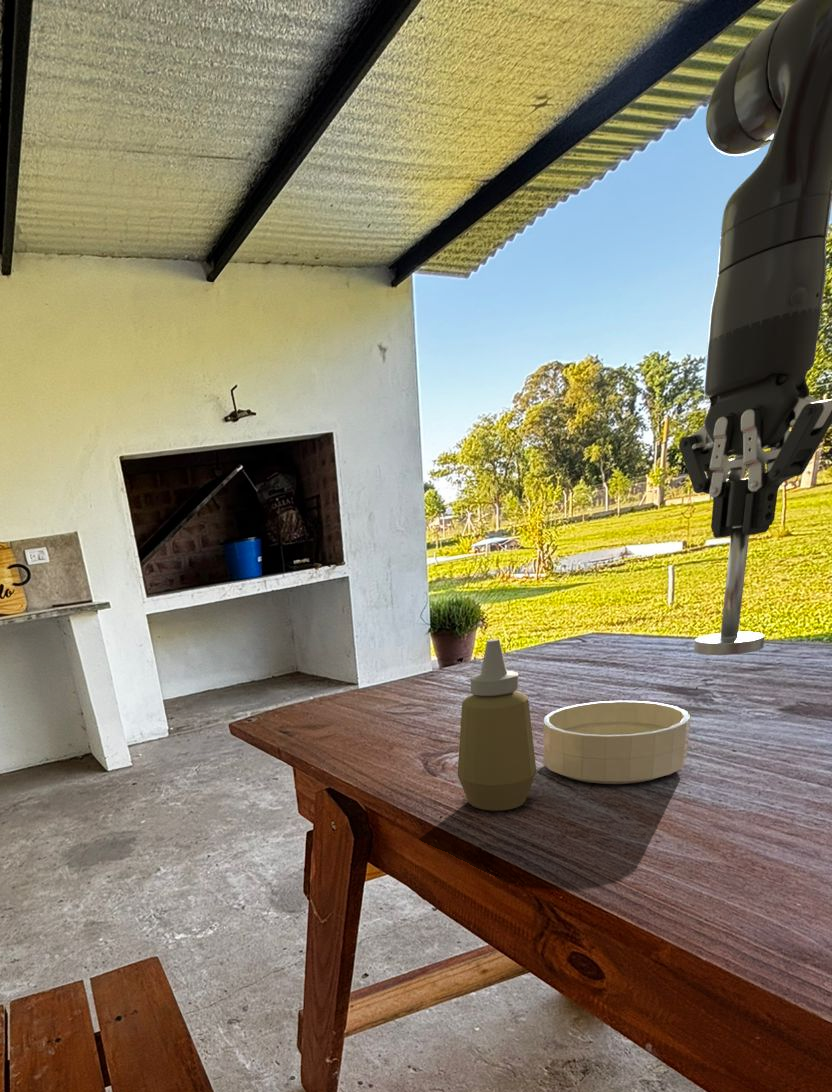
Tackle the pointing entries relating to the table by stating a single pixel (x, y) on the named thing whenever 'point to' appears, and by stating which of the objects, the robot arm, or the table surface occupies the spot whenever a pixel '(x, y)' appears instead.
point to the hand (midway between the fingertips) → (739, 534)
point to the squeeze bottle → (496, 737)
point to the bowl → (616, 741)
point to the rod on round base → (733, 585)
